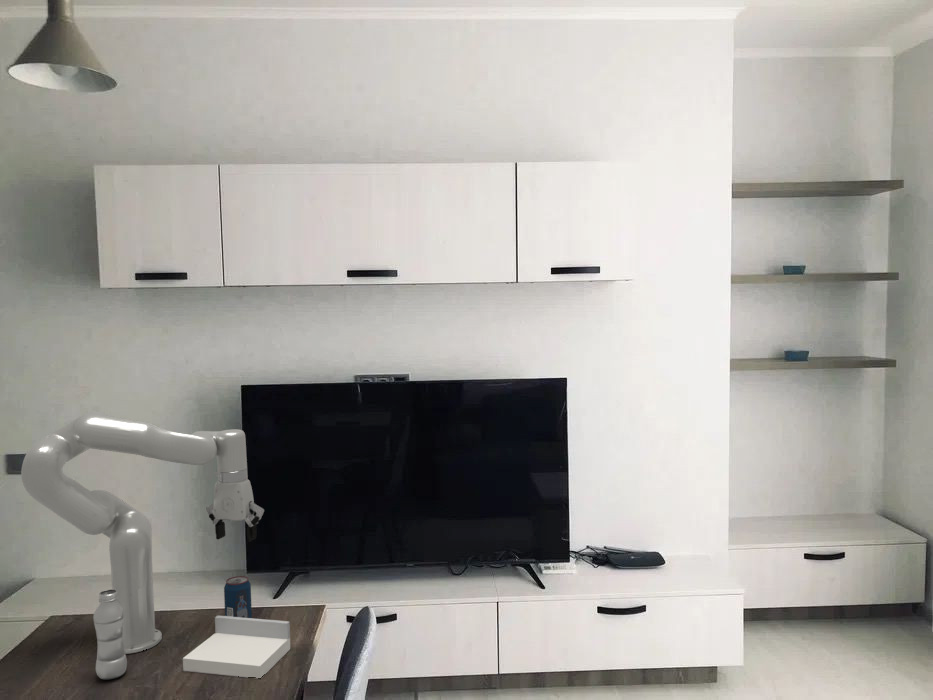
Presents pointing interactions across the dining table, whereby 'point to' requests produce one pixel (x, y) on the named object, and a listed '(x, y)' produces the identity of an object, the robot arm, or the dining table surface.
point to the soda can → (238, 597)
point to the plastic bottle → (109, 636)
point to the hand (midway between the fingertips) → (236, 538)
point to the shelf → (240, 647)
